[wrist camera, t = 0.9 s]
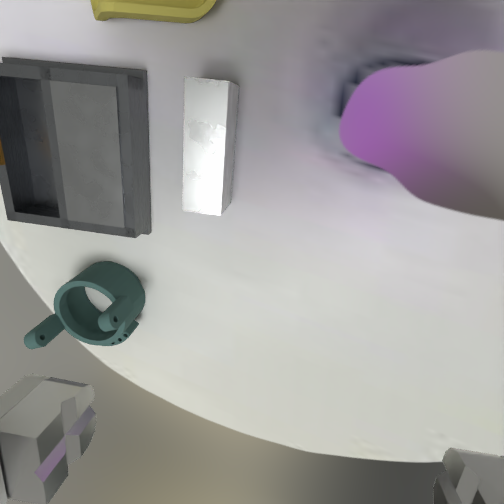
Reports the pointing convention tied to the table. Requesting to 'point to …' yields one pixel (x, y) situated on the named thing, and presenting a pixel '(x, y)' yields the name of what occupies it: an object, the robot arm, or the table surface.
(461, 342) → the table surface
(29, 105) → the grey flat box
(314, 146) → the table surface
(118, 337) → the bracket
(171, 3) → the plastic component
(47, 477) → the robot arm
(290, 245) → the table surface
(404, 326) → the table surface
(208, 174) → the gray metallic block
